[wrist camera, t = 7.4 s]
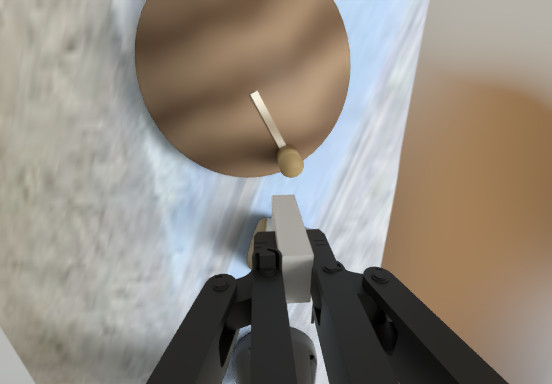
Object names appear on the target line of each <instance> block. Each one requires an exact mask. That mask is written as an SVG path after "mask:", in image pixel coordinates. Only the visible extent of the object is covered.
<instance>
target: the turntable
mask: <svg viewBox="0 0 552 384" xmlns="http://www.w3.org/2000/svg"><path fill="white" fill-rule="evenodd" d="M135 63H136V72H137V78H138V82H139V87H140V90H141V93H142V96H143V99H144V102H145V104H146V106H147V109H148V111H149V113H150V115H151V117H152V118H153V120H154V122H155V123H156V125H157V126H158V128H159V129H160V131H161V132H162V133H163V134H164V136H165V137H166V138H167V139H168V141H169V142H170V143H171V144H172V145H174V146H175V147H176V148H177V149H178V150H179V151H180V152H181V153H183V154H184V155H185V156H186V157H188V158H189V159H191V160H192V161H194V162H196V163H197V164H199V165H201V166H203V167H205V168H207V169H209V170H212V171H215V172H218V173H221V174H224V175H229V176H235V177H247V178H248V177H261V176H267V175H272V174H275V173H278V172H281V173H282V174H283V175H284V176H286V177H290V178H292V177H296V176H298V175H299V174H300V173H301V172H302V170H303V167H304V164H303V160H304V159H306V158H307V157H308V156H309V155H311V154H312V153H313V152H314V151H315V150H316V149H317V148H318V147H319V146H320V145H321V144H322V143H323V142H324V140H325V139H326V138H327V136H328V135H329V134H330V132H331V131H332V129H333V127H334V126H335V124H336V122H337V120H338V118H339V116H340V114H341V111H342V109H343V106H344V103H345V99H346V96H347V91H348V86H349V79H350V50H349V44H348V38H347V33H346V30H345V26H344V23H343V20H342V17H341V15H340V13H339V10H338V8H337V6H336V4H335V2H334V0H146V3H145V5H144V7H143V9H142V12H141V16H140V19H139V23H138V27H137V34H136V41H135Z"/></svg>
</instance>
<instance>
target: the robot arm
mask: <svg viewBox="0 0 552 384" xmlns="http://www.w3.org/2000/svg"><path fill="white" fill-rule="evenodd" d="M311 297H312V301H313V305H312V317H311V323H314V321H315V325H316V329H317V333H318V338H319V342H320V346H321V350H322V355H323V359H324V363H325V367H326V371H327V376H328V380H329V384H399V383H400V384H508V383H507V382H506V381H505V380H504V379H503V378H502V377H501V376H500V375H499V374H498V373H497V372H496V371H495V370H494V369H493V368H492V367H490V366H489V365H488V364H487V363H486V362H485V361H484V360H483V359H482V358H481V357H480V356H479V355H478V354H477V353H476V352H474V351H473V350H472V349H471V348H470V347H469V346H468V345H467V344H466V343H465V342H464V341H463V340H462V339H461V338H460V337H459V336H458V335H457V334H455V333H454V332H453V331H452V330H451V329H450V328H449V327H448V326H447V325H446V324H445V323H444V322H443V321H442V320H441V319H440V318H439V317H437V316H436V315H435V314H434V313H433V312H432V311H431V310H430V309H429V308H428V307H427V306H426V305H425V304H424V303H423V302H422V301H420V300H419V299H418V298H417V297H416V296H415V295H414V294H413V293H412V292H411V291H410V290H409V289H408V288H407V287H406V286H405V285H404V284H402V283H401V282H400V281H399V280H398V279H397V278H396V277H395V276H394V275H393V274H392V273H390V272H389V271H387V270H385V269H383V268H379V267H369V268H367V269H366V270H365V271H364V273H363V274H360V273H354V272H350V271H347V270H346V269H345V267H344V266H343V265H342V264H341V263H340V262H338V261H336V259H335V257H334V254H333V252H332V250H331V248H330V245H329V243H328V241H327V239H326V236H325V234H324V233H323V232H321V231H320V230H319V229H309V230H305V227H304V224H303V221H302V218H301V215H300V211H299V208H298V205H297V202H296V199H295V196H294V195H272V231H264V232H257V233H256V235H255V236H254V252H253V254H252V270H251V272H250V273H249V274H247V275H246V276H244V277H241V278H238V279H235V278H234V277H233V276H231V275H228V274H218V275H215V276H213V277H211V278H209V279H208V281H207V282H206V283H205V285H204V286H203V288H202V290H201V291H200V293H199V295H198V296H197V298H196V300H195V301H194V303H193V305H192V307H191V308H190V310H189V312H188V313H187V315H186V317H185V318H184V320H183V322H182V324H181V325H180V327H179V329H178V330H177V332H176V334H175V335H174V337H173V339H172V340H171V342H170V344H169V346H168V347H167V349H166V351H165V352H164V354H163V356H162V357H161V359H160V361H159V362H158V364H157V366H156V368H155V369H154V371H153V373H152V374H151V376H150V378H149V379H148V381H147V383H146V384H222V381H223V378H224V375H225V372H226V369H227V366H228V363H229V360H230V357H231V354H232V351H233V348H234V345H235V342H236V340H237V337H238V334H239V329H240V328H243V327H246V326H248V325H251V333H249V334H248V335H246V336H245V337H243V338H242V339H241V340H240V341H239V343H238V344H237V345H236V347H235V350H234V355H233V373H234V378H235V382H236V384H315V379H316V369H317V356H316V352H315V347H314V344H313V342H312V340H311V339H310V338H309V337H308V336H307V335H306V334H305V333H303V332H301V331H299V330H297V329H294V328H291V327H290V325H289V318H288V310H287V303H303V302H310V298H311ZM398 382H399V383H398Z"/></svg>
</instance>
